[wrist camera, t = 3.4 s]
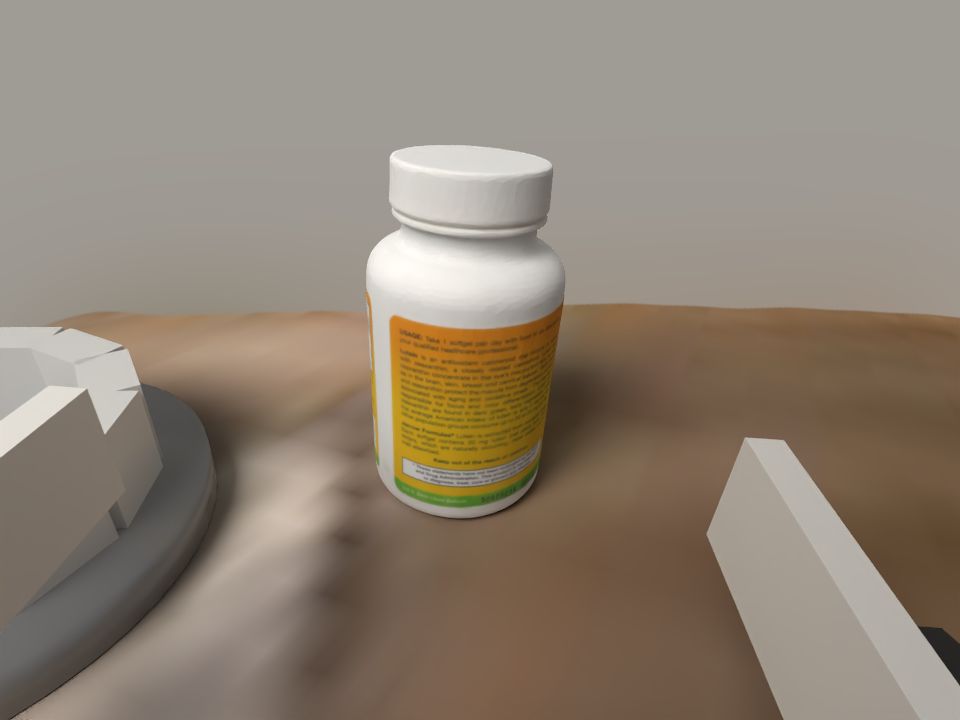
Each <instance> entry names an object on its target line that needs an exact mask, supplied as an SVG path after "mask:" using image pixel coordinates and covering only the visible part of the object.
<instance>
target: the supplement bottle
mask: <svg viewBox="0 0 960 720" xmlns="http://www.w3.org/2000/svg"><path fill="white" fill-rule="evenodd" d="M552 177H553V166H552V164H551V163H550V162H549V161H547V160H545V159H543V158H541V157H538V156H535V155H531V154H527V153H522V152H517V151H511V150H504V149H497V148H488V147H478V146H460V145H429V146H418V147H410V148H405V149H400V150H397V151H395V152H393V153H392V154H391V156H390V193H389V201H390V204H391V205H392V213H393V215H394V217H395V218H397V219H398V220H399V221H400V222H401V229H400V230H398V231H396V232H394V233H392V234H390V235H388V236H387V237H385V238H384V239H382V240H381V241H380V242H379V243H378V244H377V245H376V247H375V248H374V249H373V251H372V252H371V254H370V257H369V259H368V263H367V271H366V294H367V310H368V328H369V347H370V365H371V387H372V405H373V429H374V443H375V455H376V463H377V469H378V472H379V475H380V477H381V480H382V481H383V483H384V484H385V486H386V487H387V488H388V490H389V491H390V492H391V493H392V494H393V495H394V496H395V497H397V498H398V499H399V500H401V501H402V502H404V503H405V504H407V505H409V506H411V507H413V508H415V509H417V510H419V511H422V512H425V513H428V514H431V515H436V516H441V517H447V518H475V517H480V516H484V515H488V514H491V513H494V512H497V511H499V510H502V509H504V508H506V507H508V506H510V505H511V504H513V503H514V502H516V501H517V500H518V499H519V498H521V497H522V496H523V495H524V494H525V493H526V491H527V490H528V489H529V488H530V486H531V485H532V483H533V481H534V479H535V477H536V474H537V471H538V466H539V460H540V455H541V448H542V441H543V434H544V427H545V420H546V413H547V405H548V400H549V393H550V387H551V381H552V373H553V365H554V359H555V352H556V346H557V340H558V333H559V327H560V321H561V315H562V309H563V301H564V290H565V271H564V267H563V264H562V262H561V260H560V258H559V256H558V255H557V254H556V252H555V251H554V250H553V249H552V248H551V247H550V246H549V245H547V244H546V243H545V242H544V241H542V240H541V239H539V238H537V237H536V236H537V230H538V229H540V228H541V227H543V226H544V225H545V224H546V222H547V214H548V212H549V209H550V198H551V189H552Z"/></svg>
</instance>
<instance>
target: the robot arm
mask: <svg viewBox="0 0 960 720" xmlns="http://www.w3.org/2000/svg"><path fill="white" fill-rule="evenodd" d="M125 490H126V489H125V486H124V484H123V481H122V479H121V476H120V473H119V471H118V468H117V465H116V463H115V460H114V458H113V455H112V452H111V450H110V447H109V444H108V442H107V439H106V437H105V434H104V431H103V429H102V426H101V423H100V421H99V418H98V416H97V413H96V410H95V408H94V405H93V402H92V400H91V397H90V395H89V392H88V389H87V388H75V387H62V386H48V387H47V388H45V389H44V390H42V391H41V392H40V393H38V394H37V395H35V396H34V397H33V398H31V399H30V400H29V401H27V402H26V403H24V404H23V405H22V406H20V407H19V408H18V409H16V410H15V411H13V412H12V413H11V414H9V415H8V416H7V417H5V418H4V419H2V420H1V421H0V634H1V633H2V631H3V630H4V629H5V628H6V627H7V626H8V625H9V623H10V622H11V621H12V620H13V619H14V618H15V617H16V615H17V614H18V613H19V612H20V611H21V610H22V608H23V607H24V606H25V605H26V604H27V603H28V602H29V600H30V599H31V598H32V597H33V596H34V595H35V594H36V592H37V591H38V590H39V589H40V588H41V587H42V586H43V584H44V583H45V582H46V581H47V580H48V579H49V578H50V576H51V575H52V574H53V573H54V572H55V571H56V570H57V568H58V567H59V566H60V565H61V564H62V563H63V561H64V560H65V559H66V558H67V557H68V556H69V555H70V553H71V552H72V551H73V550H74V549H75V548H76V547H77V545H78V544H79V543H80V542H81V541H82V540H83V539H84V537H85V536H86V535H87V534H88V533H89V532H90V531H91V529H92V528H93V527H94V526H95V525H96V524H97V523H98V521H99V520H100V519H101V518H102V517H103V516H104V515H105V513H106V512H107V511H108V510H109V509H110V508H111V506H112V505H113V504H114V503H115V502H116V501H117V500H118V498H119V497H120V496H121V495H122V494H123V493H124V492H125ZM707 537H708V539H709V541H710V544H711V546H712V549H713V551H714V553H715V556H716V558H717V561H718V563H719V565H720V568H721V570H722V573H723V575H724V578H725V580H726V582H727V585H728V587H729V590H730V592H731V594H732V597H733V599H734V602H735V604H736V606H737V609H738V611H739V614H740V616H741V618H742V621H743V623H744V626H745V628H746V631H747V633H748V635H749V638H750V640H751V643H752V645H753V647H754V650H755V652H756V655H757V657H758V659H759V662H760V664H761V667H762V669H763V671H764V674H765V676H766V679H767V681H768V683H769V686H770V688H771V691H772V693H773V696H774V698H775V700H776V703H777V705H778V708H779V710H780V712H781V715H782V717H783V720H960V644H959V643H958V642H957V641H956V640H954V639H953V638H952V637H951V636H950V635H949V634H948V633H946V632H945V631H944V630H943V629H942V628H932V627H919V626H916V624H915V623H914V621H913V620H912V619H911V617H910V616H909V614H908V613H907V612H906V610H905V609H904V607H903V606H902V605H901V603H900V602H899V600H898V599H897V598H896V596H895V595H894V593H893V592H892V591H891V589H890V588H889V586H888V585H887V584H886V582H885V581H884V579H883V578H882V577H881V575H880V574H879V572H878V571H877V570H876V568H875V567H874V565H873V564H872V563H871V561H870V560H869V558H868V557H867V556H866V554H865V553H864V552H863V550H862V549H861V547H860V546H859V545H858V543H857V542H856V540H855V539H854V538H853V536H852V535H851V533H850V532H849V531H848V529H847V528H846V526H845V525H844V524H843V522H842V521H841V519H840V518H839V517H838V515H837V514H836V512H835V511H834V510H833V508H832V507H831V505H830V504H829V503H828V501H827V500H826V498H825V497H824V496H823V494H822V493H821V491H820V490H819V489H818V487H817V486H816V484H815V483H814V482H813V480H812V479H811V477H810V476H809V475H808V473H807V472H806V471H805V469H804V468H803V466H802V465H801V464H800V462H799V461H798V459H797V458H796V457H795V455H794V454H793V452H792V451H791V450H790V448H789V447H788V445H787V444H786V443H785V441H784V440H773V439H759V438H746V437H745V439H744V441H743V444H742V446H741V449H740V451H739V454H738V456H737V459H736V461H735V464H734V466H733V469H732V471H731V474H730V477H729V479H728V482H727V484H726V487H725V489H724V492H723V494H722V497H721V499H720V502H719V504H718V507H717V509H716V512H715V514H714V517H713V519H712V522H711V524H710V527H709V529H708V532H707Z"/></svg>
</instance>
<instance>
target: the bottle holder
mask: <svg viewBox="0 0 960 720" xmlns="http://www.w3.org/2000/svg"><path fill="white" fill-rule="evenodd" d="M48 386H62V387H75V388H87V389H88V392H89V395H90V397H91V400H92V402H93V405H94V408H95V410H96V413H97V416H98V418H99V421H100V423H101V426H102V429H103V431H104V434H105V437H106V439H107V442H108V444H109V447H110V450H111V452H112V455H113V458H114V460H115V463H116V465H117V468H118V471H119V473H120V476H121V479H122V481H123V484H124V486H125V489H126V490H125V492H124V493H123V494H122V495H121V496H120V497H119V498H118V500H117V501H116V502H115V503H114V504H113V505H112V506H111V508H110V509H109V510H108V511H107V512H106V513H105V515H104V516H103V517H102V518H101V519H100V520H99V521H98V523H97V524H96V525H95V526H94V527H93V528H92V529H91V531H90V532H89V533H88V534H87V535H86V536H85V537H84V539H83V540H82V541H81V542H80V543H79V544H78V545H77V547H76V548H75V549H74V550H73V551H72V552H71V553H70V555H69V556H68V557H67V558H66V559H65V560H64V561H63V563H62V564H61V565H60V566H59V567H58V568H57V570H56V571H55V572H54V573H53V574H52V575H51V576H50V578H49V579H48V580H47V581H46V582H45V583H44V584H43V586H42V587H41V588H40V589H39V590H38V591H37V592H36V594H35V595H34V596H33V597H32V598H31V599H30V600H29V602H28V603H27V604H26V605H25V606H24V607H23V608H22V610H21V611H20V612H19V613H18V614H17V615H16V617H15V618H14V619H13V620H12V621H11V622H10V623H9V625H8V626H7V627H6V628H5V629H4V630H3V631H2V633H1V634H0V720H8V719H10V718H12V717H13V716H15V715H16V714H18V713H19V712H21V711H23V710H24V709H26V708H27V707H29V706H30V705H32V704H34V703H35V702H37V701H38V700H40V699H42V698H43V697H45V696H46V695H48V694H49V693H51V692H53V691H54V690H55V689H57V688H58V687H59V686H61V685H62V684H63V683H65V682H66V681H68V680H69V679H70V678H72V677H73V676H74V675H76V674H77V673H78V672H80V671H81V670H82V669H84V668H85V667H87V666H88V665H89V664H91V663H92V662H93V661H95V660H96V659H97V658H98V657H99V656H100V655H102V654H103V653H104V652H105V651H106V650H107V649H109V648H110V647H111V646H112V645H113V644H114V643H116V642H117V641H118V640H119V639H120V638H121V637H123V636H124V635H125V634H126V633H127V632H128V631H130V630H131V629H132V628H133V627H134V626H135V625H136V624H137V623H138V622H139V620H140V619H141V618H142V617H143V616H144V615H145V614H146V613H147V612H148V611H149V610H150V609H151V608H152V607H153V606H154V605H155V604H156V603H157V602H158V601H159V600H160V599H161V598H162V596H163V595H164V594H165V593H166V592H167V590H168V589H169V588H170V587H171V585H172V584H173V583H174V582H175V581H176V579H177V578H178V577H179V576H180V575H181V573H182V571H183V570H184V568H185V567H186V565H187V564H188V562H189V561H190V559H191V558H192V556H193V555H194V553H195V552H196V550H197V549H198V546H199V544H200V542H201V540H202V538H203V536H204V534H205V532H206V530H207V528H208V526H209V523H210V520H211V517H212V514H213V510H214V507H215V502H216V494H217V477H216V469H215V465H214V461H213V457H212V453H211V449H210V445H209V441H208V438H207V435H206V432H205V429H204V426H203V424H202V422H201V421H200V419H199V418H198V416H197V414H196V413H195V412H194V411H193V410H192V409H191V408H190V407H189V406H188V405H187V404H186V403H185V402H183V401H181V400H180V399H178V398H177V397H175V396H174V395H172V394H170V393H168V392H165V391H163V390H161V389H158V388H156V387H153V386H149V385H146V384H142V383H140V382H139V380H138V377H137V374H136V371H135V369H134V366H133V363H132V360H131V358H130V355H129V352H128V349H124V347H123V345H120V344H117V343H114V342H111V341H108V340H105V339H102V338H99V337H96V336H93V335H90V334H87V333H84V332H81V331H78V330H75V329H72V328H71V329H68V330H65V331H64V330H63V327H0V421H1V420H2V419H4V418H5V417H7V416H8V415H9V414H11V413H12V412H13V411H15V410H16V409H18V408H19V407H20V406H22V405H23V404H24V403H26V402H27V401H29V400H30V399H31V398H33V397H34V396H35V395H37V394H38V393H40V392H41V391H42V390H44V389H45V388H47V387H48Z"/></svg>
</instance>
